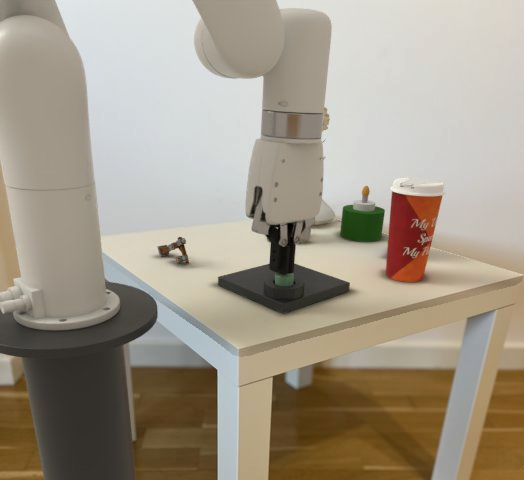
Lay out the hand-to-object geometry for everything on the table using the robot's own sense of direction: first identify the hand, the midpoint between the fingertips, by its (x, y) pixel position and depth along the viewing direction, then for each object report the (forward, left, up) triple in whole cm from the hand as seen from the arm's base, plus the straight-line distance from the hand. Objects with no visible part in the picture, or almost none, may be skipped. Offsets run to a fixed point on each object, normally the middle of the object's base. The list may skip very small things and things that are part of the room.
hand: (281, 271), depth 75 cm
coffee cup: (+24, -4, -5) cm, 25 cm away
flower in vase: (+38, +31, -5) cm, 50 cm away
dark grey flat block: (+4, +4, -5) cm, 7 cm away
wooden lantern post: (-1, +25, -5) cm, 25 cm away
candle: (+38, +16, -5) cm, 42 cm away
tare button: (0, 0, -2) cm, 2 cm away
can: (+25, +23, -5) cm, 35 cm away
